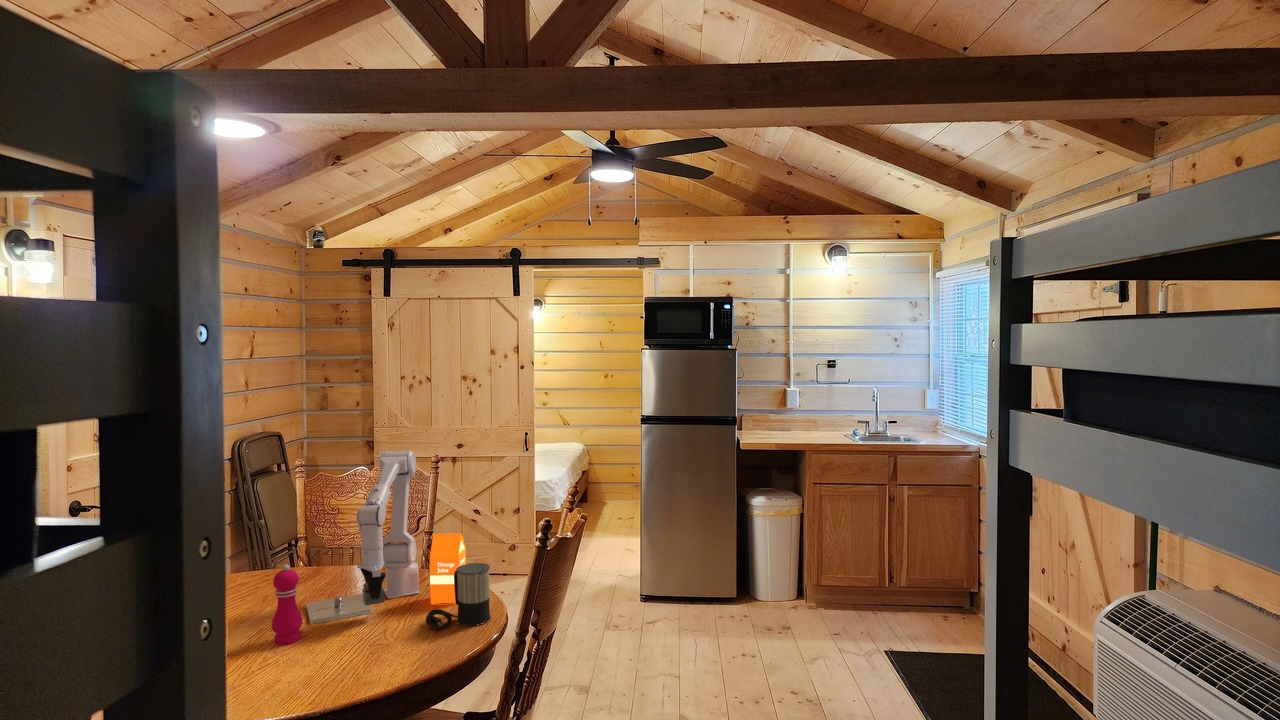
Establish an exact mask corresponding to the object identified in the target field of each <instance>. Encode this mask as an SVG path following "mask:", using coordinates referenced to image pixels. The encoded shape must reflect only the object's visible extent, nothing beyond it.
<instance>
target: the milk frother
mask: <svg viewBox="0 0 1280 720" xmlns="http://www.w3.org/2000/svg"><path fill="white" fill-rule="evenodd" d="M490 568H491V566H490V565H489V564H487V563H484V562H483V563H481V562H472V563H470V562H469V563H466V564H464V565H461V566H459V567H458V568H457V569H456V571H455V573H454V588H455V602H456V604H455V605H457V616H456V615H454V614H452V613H450V612H449V611H446V610H443V609H437V608H435V609H431V610H429V612H428V613H427V614H426V615H425V616H426V617H425V623H426V625H427V626H428V627H430V628H431V629H435V630H437V629H438V630H439V629H446V628H448V627H449V626H451V624H452V621H453V619H452V618H455V619H456V623H457V624H458V625H460V624H461V626H464V625H476V626H478V625H477V624H481V623H484V622H487V621H488V620H489V621H490V620H491V619H490V618H492V617H491V613H490ZM435 615H438V616H439V615H441V616H443V617H445V618H446V622H444V623H441V621H442V619H441V618H438V617H437V616H435ZM489 621H488V622H489ZM488 622H487V623H488ZM484 624H485V623H484Z"/></svg>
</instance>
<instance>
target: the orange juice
mask: <svg viewBox="0 0 1280 720" xmlns="http://www.w3.org/2000/svg"><path fill="white" fill-rule="evenodd" d="M432 536H433V537H432V542H431V547H430V553H429V585H430V586H429V587H430V589H429V590H430V605H437V604H436V603H456V602H455V588H454V573H455V571H456V569H457V568H458V567H459V566H461V565H464V564H467V560H466V559H467V558H466V555H467V554H466V549H467V548H466V545H465V542H464V537H463V534H462V533H433V535H432Z"/></svg>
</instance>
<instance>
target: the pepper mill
mask: <svg viewBox="0 0 1280 720" xmlns="http://www.w3.org/2000/svg"><path fill="white" fill-rule="evenodd" d="M299 581H300V577H299V574H298V573H297V571H295V570H293V569H290V565H288V564H283V565H282V566H281V570H280V571H279V572H277V573H276V574H275V575H274V577H273V580H272V582H273V583H272V584H273V585H272V586H273V587H274V588H275V589H276V590H275V597H277V607H276V610H275V612H274V616H273V618H272V622H271V630H272V631H273V632H274V633H275V634H274V636H273V638H274V639H273V640H274V641H273V643H274V644H275V645H276V644H277V646H286V645H292V644H294V643H297V642H299V641H300V640H301V638H302V634H301V633H302V632H301V630H300V629H301V627H303V617H302V613H301V612H300V610H299V608H298V606H297V602H296V594H297V593H298V591H297V589H298V588H297V586H298V584H299Z"/></svg>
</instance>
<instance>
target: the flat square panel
mask: <svg viewBox="0 0 1280 720" xmlns="http://www.w3.org/2000/svg"><path fill="white" fill-rule="evenodd" d="M305 605H306V612H307V611H308V612H307V615H308V619H309V624H310V625H314V623H315V624H319V623H325V622H330V621H336V620H340V619H342V620H343V619H346V618H351V617H357V616H358V617H359V616H362V615H368V614H372V608H371V605H367V606H365V604H364V602H363V592H362V593H358V594H357V593H356V594H353V595H351V594H350V595H345V596H336V597H334V598H329V599H328V598H327V599H324V600H323V599H322V600H318V601H311V602H306V603H305Z"/></svg>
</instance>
